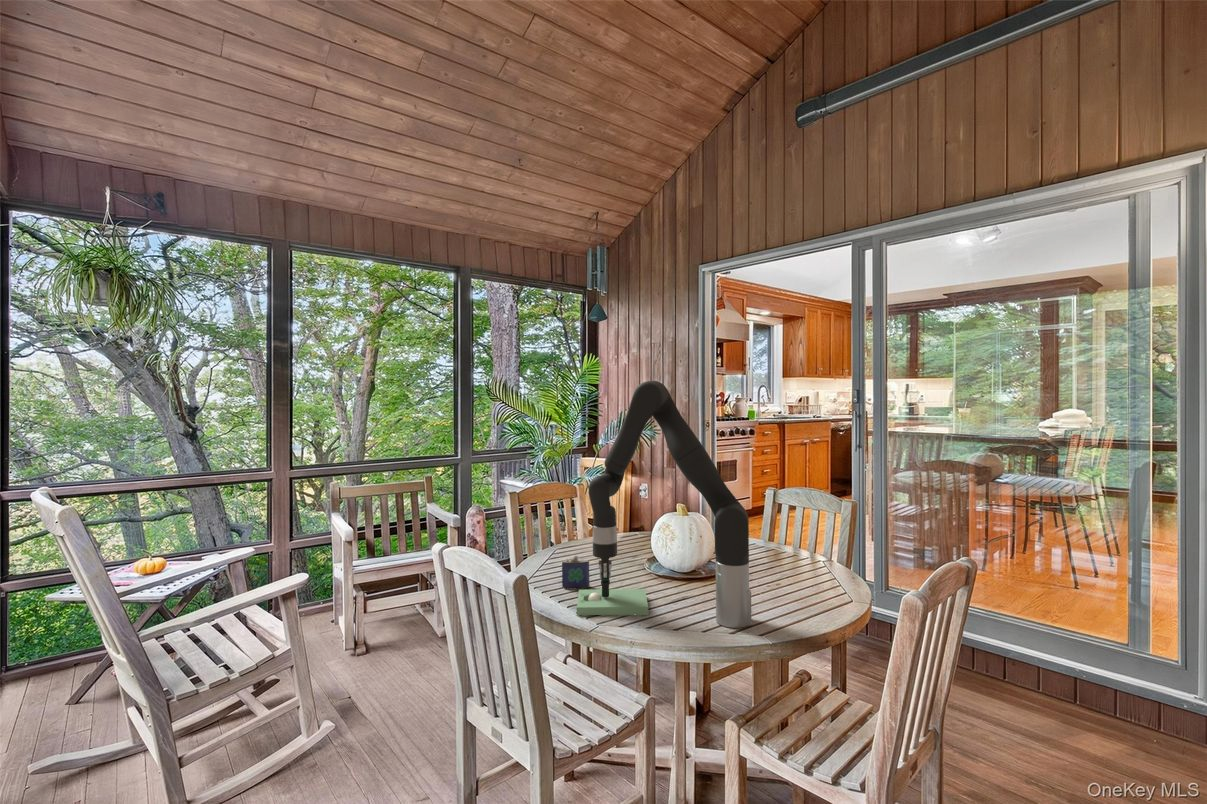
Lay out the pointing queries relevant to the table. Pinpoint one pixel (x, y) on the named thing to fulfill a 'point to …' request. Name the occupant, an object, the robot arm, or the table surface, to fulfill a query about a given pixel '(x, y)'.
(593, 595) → the ball
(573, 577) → the flask
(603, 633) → the table surface
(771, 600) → the table surface
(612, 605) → the board
